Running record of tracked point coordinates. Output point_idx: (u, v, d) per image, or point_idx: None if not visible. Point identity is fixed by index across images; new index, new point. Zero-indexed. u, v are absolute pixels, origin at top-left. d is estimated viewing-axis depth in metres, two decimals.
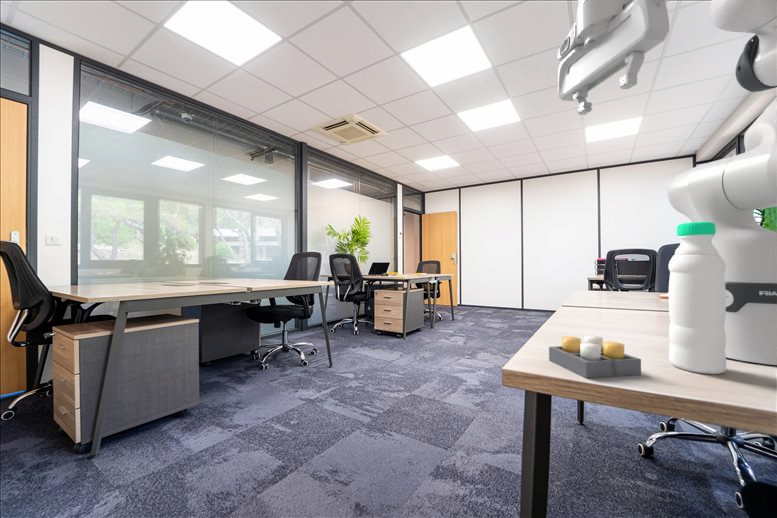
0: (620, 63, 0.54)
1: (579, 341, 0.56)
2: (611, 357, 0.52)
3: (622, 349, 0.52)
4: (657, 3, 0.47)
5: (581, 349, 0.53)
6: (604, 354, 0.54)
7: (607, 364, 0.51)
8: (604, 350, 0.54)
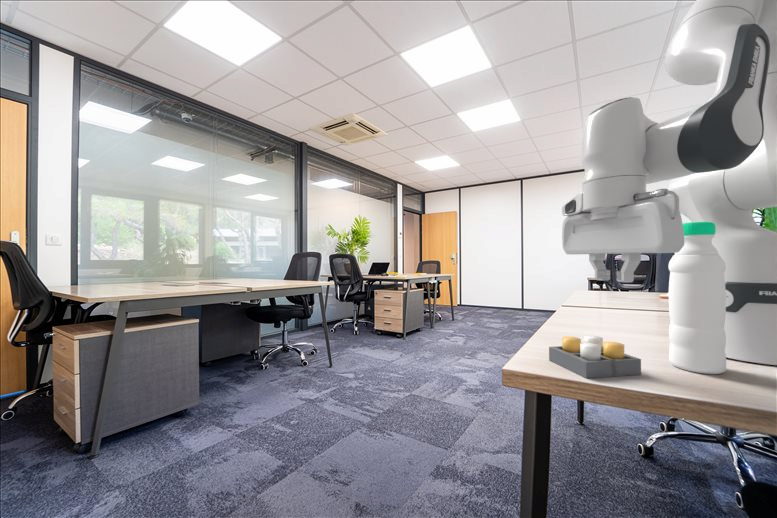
0: None
1: (579, 341, 0.56)
2: (611, 357, 0.52)
3: (622, 349, 0.52)
4: (671, 215, 0.44)
5: (581, 349, 0.53)
6: (604, 354, 0.54)
7: (607, 364, 0.51)
8: (604, 350, 0.54)
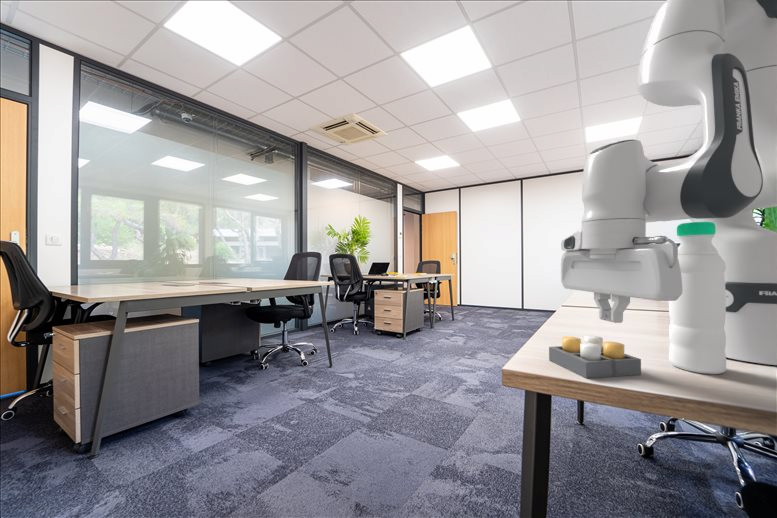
0: None
1: (579, 341, 0.56)
2: (611, 357, 0.52)
3: (622, 349, 0.52)
4: (670, 264, 0.44)
5: (581, 349, 0.53)
6: (604, 354, 0.54)
7: (607, 364, 0.51)
8: (604, 350, 0.54)
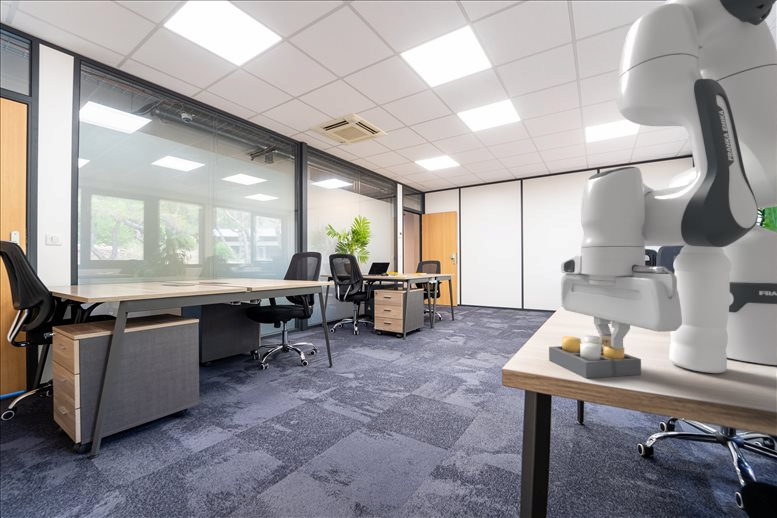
0: None
1: (579, 341, 0.56)
2: None
3: (622, 352, 0.52)
4: (669, 295, 0.44)
5: (581, 349, 0.53)
6: None
7: (607, 364, 0.51)
8: (604, 353, 0.54)
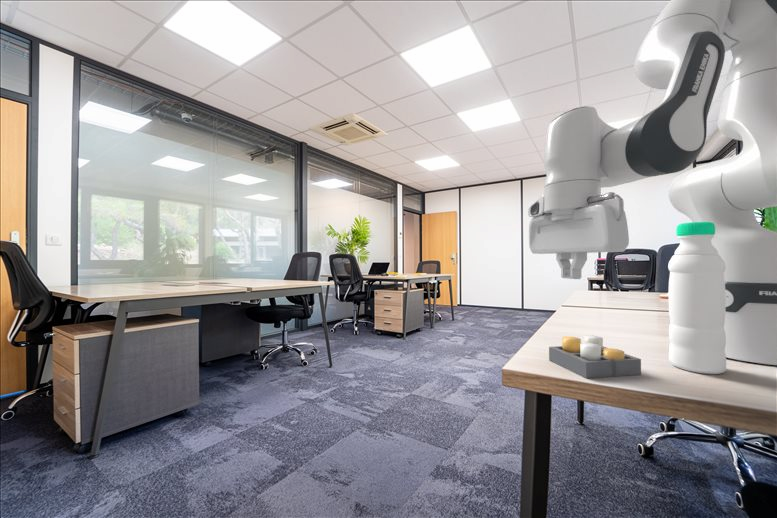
0: None
1: (579, 341, 0.56)
2: None
3: (622, 356, 0.52)
4: (616, 217, 0.47)
5: (581, 349, 0.53)
6: None
7: (607, 364, 0.51)
8: None
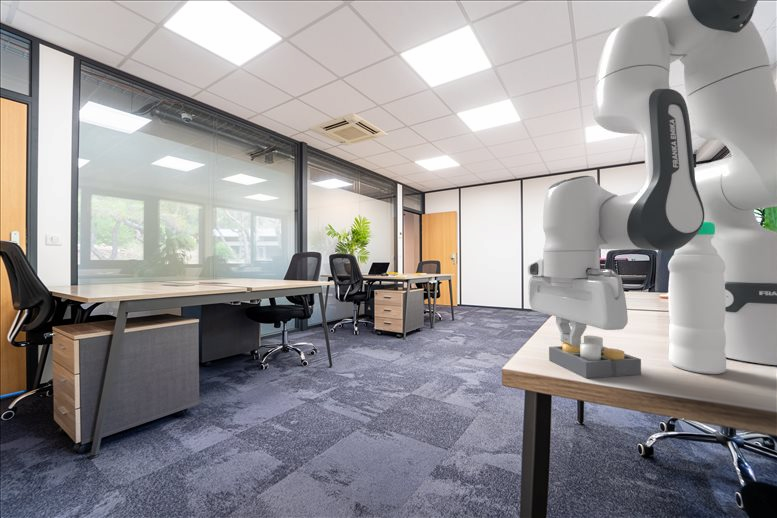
0: None
1: (579, 347, 0.56)
2: None
3: (622, 356, 0.52)
4: (615, 296, 0.47)
5: (581, 349, 0.53)
6: None
7: (607, 364, 0.51)
8: None
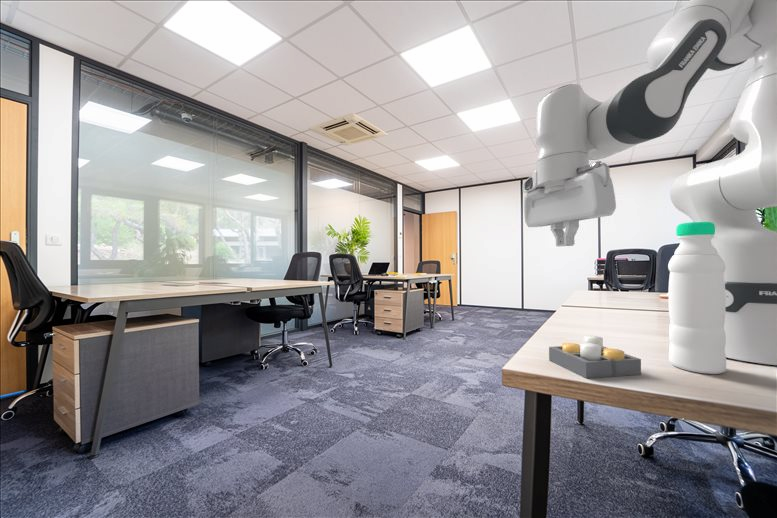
0: None
1: (579, 348, 0.56)
2: None
3: (622, 356, 0.52)
4: (604, 183, 0.51)
5: (581, 349, 0.53)
6: None
7: (607, 364, 0.51)
8: None
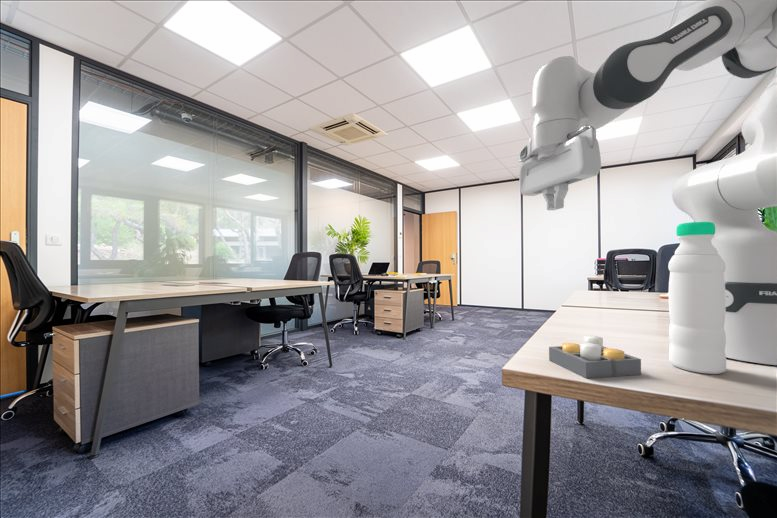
0: None
1: (579, 348, 0.56)
2: None
3: (622, 356, 0.52)
4: (590, 145, 0.55)
5: (581, 349, 0.53)
6: None
7: (607, 364, 0.51)
8: None
